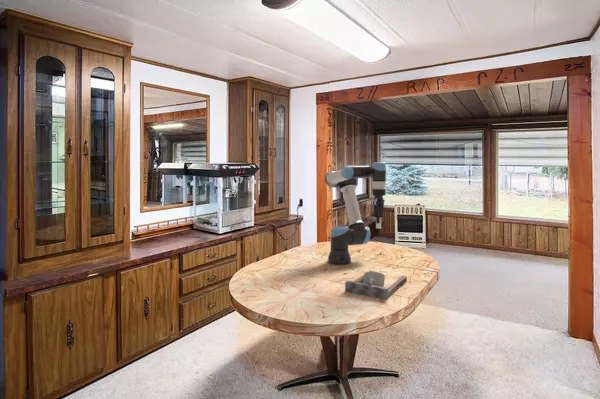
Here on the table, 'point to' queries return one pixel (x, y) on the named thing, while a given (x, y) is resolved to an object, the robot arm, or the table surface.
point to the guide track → (373, 287)
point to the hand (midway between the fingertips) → (378, 228)
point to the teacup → (374, 278)
